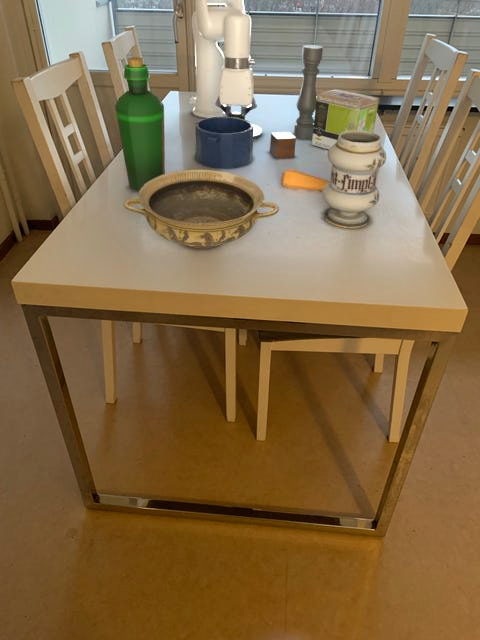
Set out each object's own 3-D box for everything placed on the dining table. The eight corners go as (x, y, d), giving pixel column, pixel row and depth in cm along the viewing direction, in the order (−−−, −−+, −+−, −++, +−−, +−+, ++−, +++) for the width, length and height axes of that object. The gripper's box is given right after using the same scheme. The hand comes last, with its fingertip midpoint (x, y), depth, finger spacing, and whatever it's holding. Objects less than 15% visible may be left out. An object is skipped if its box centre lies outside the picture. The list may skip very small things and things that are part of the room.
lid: (201, 138, 148) (201, 117, 145) (219, 123, 161) (219, 103, 157) (254, 144, 145) (255, 123, 141) (267, 129, 158) (268, 109, 154)
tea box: (370, 150, 144) (381, 97, 135) (352, 158, 138) (361, 103, 129) (329, 138, 152) (336, 87, 143) (310, 145, 146) (316, 92, 137)
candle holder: (313, 133, 155) (323, 45, 140) (313, 139, 150) (324, 49, 135) (293, 132, 155) (302, 44, 140) (293, 138, 150) (302, 47, 135)
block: (269, 152, 140) (271, 133, 137) (287, 151, 141) (289, 131, 138) (276, 159, 136) (277, 139, 133) (294, 157, 137) (296, 137, 134)
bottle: (176, 182, 121) (169, 57, 104) (157, 198, 113) (146, 66, 96) (138, 175, 123) (125, 52, 106) (116, 191, 116) (99, 61, 98)
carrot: (279, 190, 121) (281, 176, 117) (282, 177, 123) (284, 163, 119) (358, 205, 119) (363, 192, 115) (360, 192, 121) (365, 179, 117)
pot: (184, 167, 129) (182, 132, 123) (210, 143, 145) (209, 111, 139) (240, 175, 126) (241, 140, 120) (260, 149, 142) (261, 117, 136)
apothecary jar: (316, 205, 112) (327, 125, 101) (368, 207, 112) (384, 127, 101) (322, 229, 103) (334, 144, 92) (378, 231, 103) (397, 147, 92)
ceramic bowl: (116, 268, 89) (108, 218, 83) (139, 211, 107) (134, 167, 101) (279, 273, 89) (283, 224, 83) (273, 215, 108) (277, 171, 102)
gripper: (265, 62, 143) (262, 126, 154) (211, 59, 144) (212, 123, 156) (263, 67, 137) (260, 133, 148) (207, 64, 138) (208, 130, 150)
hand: (235, 127), depth 152 cm, fingers closed on lid, 2 cm apart
